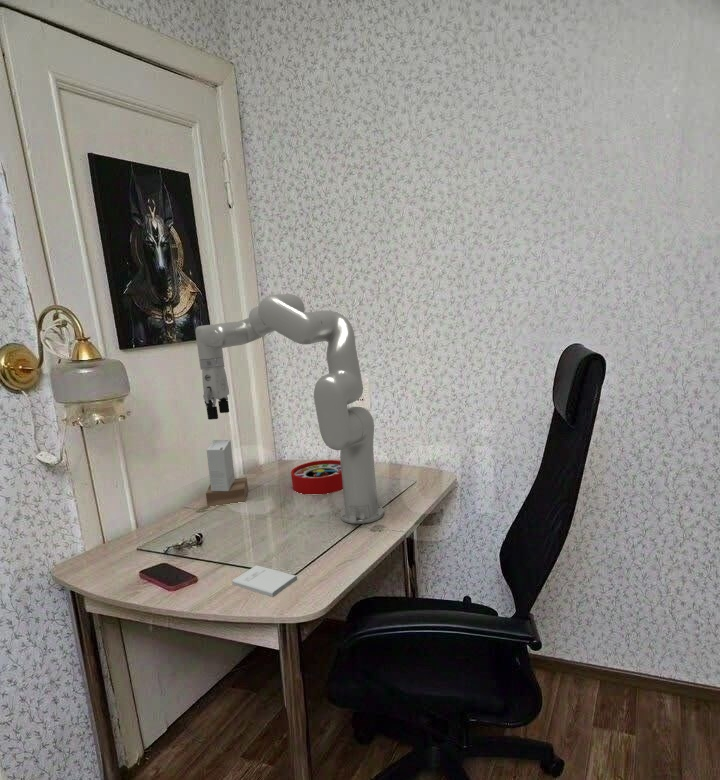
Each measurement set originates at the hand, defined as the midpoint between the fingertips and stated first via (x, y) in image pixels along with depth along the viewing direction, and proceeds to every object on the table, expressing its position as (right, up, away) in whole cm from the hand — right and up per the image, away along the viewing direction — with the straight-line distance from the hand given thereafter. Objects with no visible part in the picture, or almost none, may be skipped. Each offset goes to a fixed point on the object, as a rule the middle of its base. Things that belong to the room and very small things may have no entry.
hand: (219, 415), depth 175 cm
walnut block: (+2, -28, +4) cm, 29 cm away
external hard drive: (+24, -36, -53) cm, 69 cm away
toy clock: (+33, -25, +10) cm, 42 cm away
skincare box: (+1, -23, +1) cm, 23 cm away
